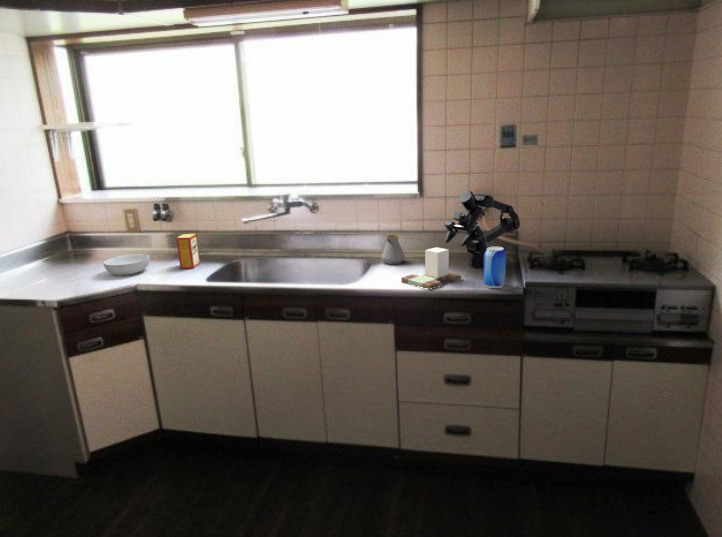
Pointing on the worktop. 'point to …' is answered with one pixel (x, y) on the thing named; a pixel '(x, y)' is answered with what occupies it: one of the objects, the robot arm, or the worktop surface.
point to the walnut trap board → (433, 283)
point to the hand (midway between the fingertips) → (453, 244)
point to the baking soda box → (188, 251)
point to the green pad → (420, 280)
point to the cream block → (436, 262)
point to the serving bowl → (127, 264)
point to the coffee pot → (393, 251)
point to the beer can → (494, 267)
